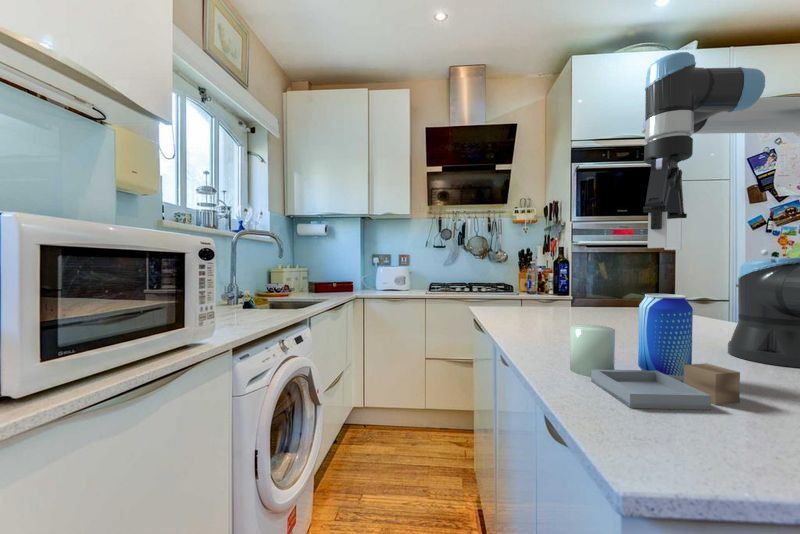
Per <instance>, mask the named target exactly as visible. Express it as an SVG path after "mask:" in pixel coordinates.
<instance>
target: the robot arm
mask: <svg viewBox="0 0 800 534" xmlns="http://www.w3.org/2000/svg"><path fill="white" fill-rule="evenodd" d="M696 65H697V62H696V57H695V55H694V54H692V53H690V52H687V51H684V52H683V51H680V52H674V53H671V54H668V55H664V56H663V57H660V58H659V59H656V60H655V61H654V62H653V63H652V64H650V66H648V68H647V72H646V78H645V86H644V91H645V110H644V111H645V115H644V116H645V118H644V119H643V128H642V130H641V133H642V134H644V142H645V143H646V144H645V145H644V146H643V147H644V155H643V162H644V163H645V164H647V165H650V172H649V173H650V175H649V179H648V185H647V189H646V190H647V191H646V197H645V203H644V206H643V207H642V211H643V213H648V215H647V220H648V221H647V249H664V251H678V250H679V251H681V250H682V240H683V239H682V237H683V236H682V235H683V233H682V232H683V219H687V217H688V216H687V215H688V213H686V212H685V210H684V195H683V194H684V193H683V181H682V180H683V176H682V175H683V171H682V169H680V167H679V165H678V163H680V162H683V161H687V160H688V159H690V158H691V157H693V154H694V153H693V149H694V147H693V145H694V139H693V137H692V136H693V135H694V134H695V135H697V134H698V135H699V134H700V135H702V134H767V133H769V134H775V133H776V134H777V133H778V134H779V133H780V134H782V133H785V134H787V133H793V134H794V135H795V136H798V137H800V96H765V97H764V96H763V97H761V96H762V95H763V93H764V90H765V88H766V76H765V74H764V72H763V71H762V70H760V69H758V68H751V67H743V66H739V67H738V66H737V67H709V68H708V67H697V66H696ZM737 281H738V283H737V284H738V285H737V286H738V287H737V289H738V291H737V292H738V295H737V297H738V299H737V300H738V301H737V303H738V307H737V308H738V311H737V313H738V314H737V315H738V316H737V317H738V318H737V324H736V327H735V329H734V330H733V333H732V336H731V339H730V340H729V341H728V343H727V353H728V354H729V355H731V356H733V357H736V358H740V359H744V360H748V361H751V362H756V363H761V364H768V365H773V366H775V365H776V366H783V367H789V368H790V367H792V368H800V256H799V257H797V256H796V257H778V258H777V257H775V258H765V259H755V260H749V261H746V262H744V263H742V264H741V265H740V267H739V276H738V278H737Z"/></svg>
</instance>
